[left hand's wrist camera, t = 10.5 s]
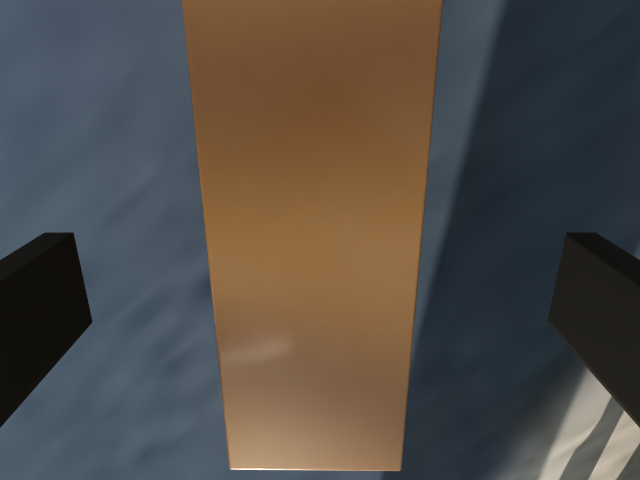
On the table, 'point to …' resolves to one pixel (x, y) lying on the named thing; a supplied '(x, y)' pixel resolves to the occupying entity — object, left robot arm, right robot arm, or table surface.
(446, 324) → the table surface
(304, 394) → the beam
